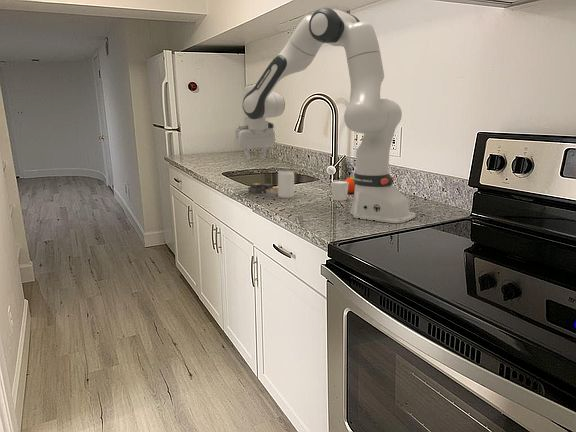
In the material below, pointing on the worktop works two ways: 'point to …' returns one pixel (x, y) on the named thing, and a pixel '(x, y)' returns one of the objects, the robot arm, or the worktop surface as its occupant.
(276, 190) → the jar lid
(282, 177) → the can
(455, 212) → the worktop surface
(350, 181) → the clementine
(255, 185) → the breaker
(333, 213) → the worktop surface
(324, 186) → the worktop surface
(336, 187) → the white cup
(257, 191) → the panel
